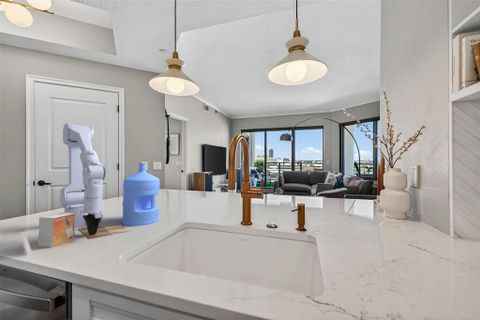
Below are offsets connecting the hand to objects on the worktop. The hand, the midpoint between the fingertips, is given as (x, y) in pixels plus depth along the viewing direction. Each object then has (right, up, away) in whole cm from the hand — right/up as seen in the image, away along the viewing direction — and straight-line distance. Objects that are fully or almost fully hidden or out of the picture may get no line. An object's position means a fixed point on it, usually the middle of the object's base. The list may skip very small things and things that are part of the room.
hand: (92, 234), depth 85 cm
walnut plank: (-2, -2, +4) cm, 5 cm away
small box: (-7, -2, -8) cm, 11 cm away
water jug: (+9, -2, +21) cm, 23 cm away
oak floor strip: (+4, -2, +10) cm, 10 cm away
